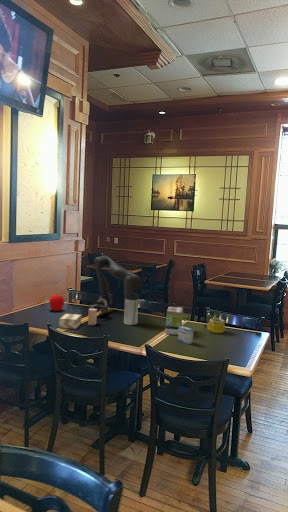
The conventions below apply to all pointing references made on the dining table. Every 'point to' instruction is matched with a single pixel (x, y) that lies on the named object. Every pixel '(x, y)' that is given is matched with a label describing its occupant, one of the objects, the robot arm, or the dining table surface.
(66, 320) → the birch block
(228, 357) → the dining table surface
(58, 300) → the red apple
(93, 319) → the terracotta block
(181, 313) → the tea box
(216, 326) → the yellow teapot
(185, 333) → the medicine box
